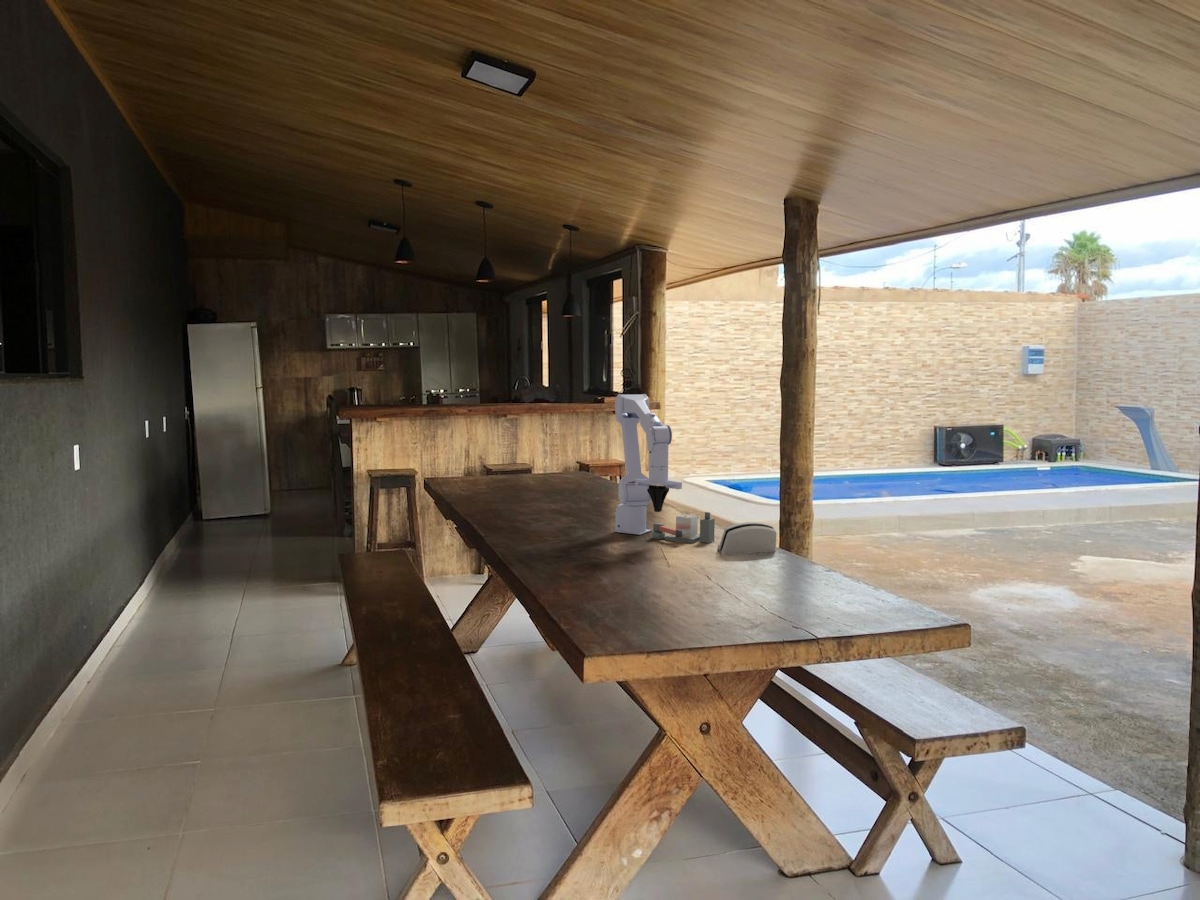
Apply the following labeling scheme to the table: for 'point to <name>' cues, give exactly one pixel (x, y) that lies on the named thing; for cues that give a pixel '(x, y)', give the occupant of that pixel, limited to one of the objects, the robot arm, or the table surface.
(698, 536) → the press
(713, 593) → the table surface
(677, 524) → the block
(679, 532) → the lever
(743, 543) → the white arched thin slab
